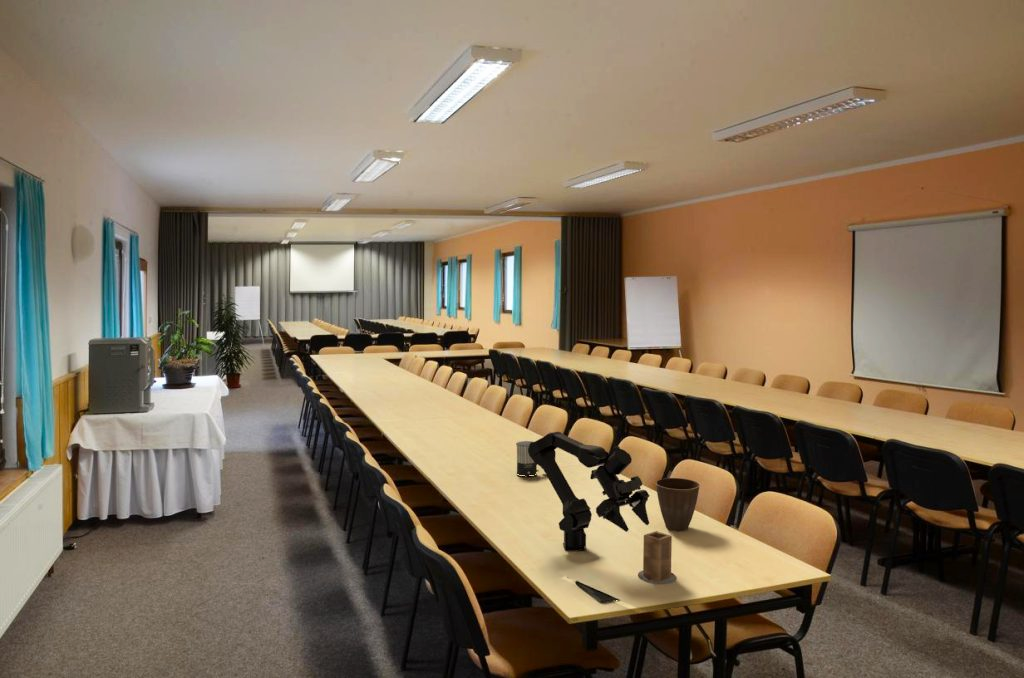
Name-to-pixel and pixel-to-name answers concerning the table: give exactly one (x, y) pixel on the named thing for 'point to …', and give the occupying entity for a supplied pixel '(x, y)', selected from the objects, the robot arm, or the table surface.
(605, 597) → the phone
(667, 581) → the peg stand
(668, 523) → the plant pot
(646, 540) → the walnut sleeve
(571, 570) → the table surface
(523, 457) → the milk frother
